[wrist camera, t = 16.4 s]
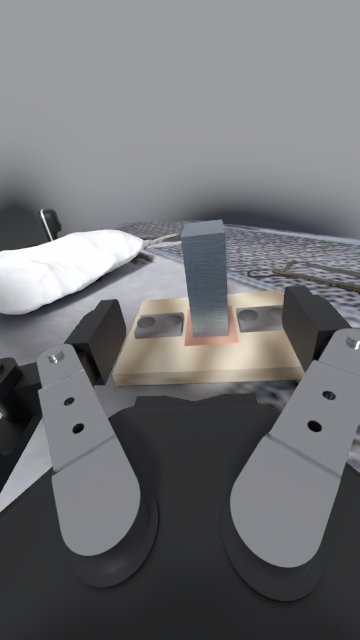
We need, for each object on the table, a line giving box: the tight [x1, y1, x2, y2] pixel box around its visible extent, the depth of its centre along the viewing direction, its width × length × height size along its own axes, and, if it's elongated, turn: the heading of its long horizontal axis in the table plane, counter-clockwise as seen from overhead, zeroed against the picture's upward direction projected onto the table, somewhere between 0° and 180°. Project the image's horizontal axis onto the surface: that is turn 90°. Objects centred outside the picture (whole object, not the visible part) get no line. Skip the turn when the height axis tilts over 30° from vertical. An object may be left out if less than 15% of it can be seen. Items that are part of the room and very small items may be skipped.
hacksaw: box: [247, 261, 360, 292], centre depth 35 cm, size 24×10×2 cm, turn 35°
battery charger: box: [38, 209, 61, 242], centre depth 65 cm, size 7×4×11 cm, turn 21°
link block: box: [181, 220, 228, 338], centre depth 24 cm, size 4×5×10 cm
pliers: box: [142, 234, 182, 250], centre depth 64 cm, size 10×2×15 cm
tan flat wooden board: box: [112, 290, 305, 386], centre depth 27 cm, size 18×14×2 cm
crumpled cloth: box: [0, 230, 143, 314], centre depth 45 cm, size 24×35×9 cm
